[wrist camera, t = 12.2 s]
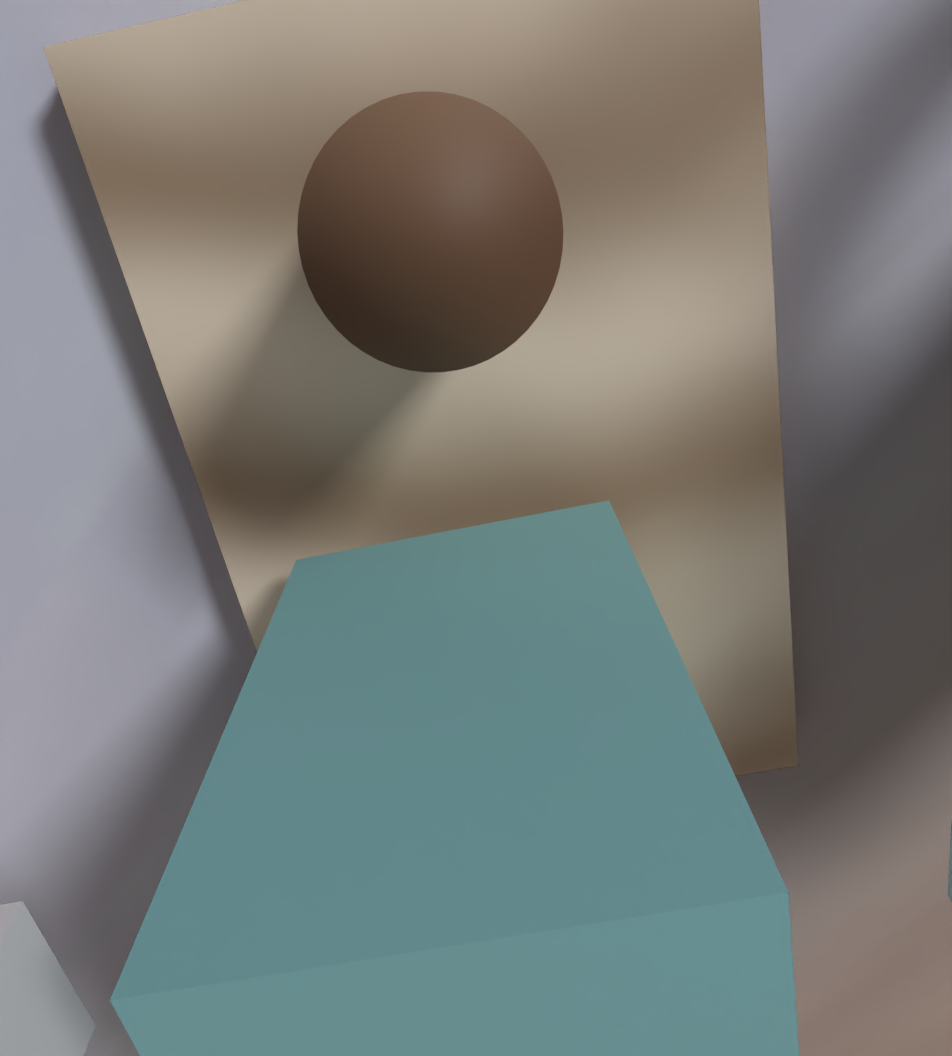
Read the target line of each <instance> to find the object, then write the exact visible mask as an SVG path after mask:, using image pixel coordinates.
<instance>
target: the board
mask: <svg viewBox="0 0 952 1056" xmlns="http://www.w3.org/2000/svg"><path fill="white" fill-rule="evenodd" d="M43 48H44V51H45V54H46V57H47V60H48V62H49V65H50V68H51V71H52V74H53V77H54V79H55V82H56V85H57V88H58V91H59V93H60V96H61V99H62V102H63V105H64V108H65V110H66V113H67V116H68V119H69V122H70V125H71V127H72V130H73V133H74V136H75V139H76V142H77V144H78V147H79V150H80V153H81V156H82V159H83V161H84V164H85V167H86V170H87V173H88V176H89V178H90V181H91V184H92V187H93V190H94V193H95V195H96V198H97V201H98V204H99V207H100V209H101V212H102V215H103V218H104V221H105V224H106V226H107V229H108V232H109V235H110V238H111V241H112V243H113V246H114V249H115V252H116V255H117V258H118V260H119V263H120V266H121V269H122V272H123V275H124V277H125V280H126V283H127V286H128V289H129V292H130V294H131V297H132V300H133V303H134V306H135V308H136V311H137V314H138V317H139V320H140V323H141V325H142V328H143V331H144V334H145V337H146V340H147V342H148V345H149V348H150V351H151V354H152V357H153V359H154V362H155V365H156V368H157V371H158V374H159V376H160V379H161V382H162V385H163V388H164V391H165V393H166V396H167V399H168V402H169V405H170V408H171V410H172V413H173V416H174V419H175V422H176V424H177V427H178V430H179V433H180V436H181V439H182V441H183V444H184V447H185V450H186V453H187V456H188V458H189V461H190V464H191V467H192V470H193V473H194V475H195V478H196V481H197V484H198V487H199V490H200V492H201V495H202V498H203V501H204V504H205V507H206V509H207V512H208V515H209V518H210V521H211V523H212V526H213V529H214V532H215V535H216V538H217V540H218V543H219V546H220V549H221V552H222V555H223V557H224V560H225V563H226V566H227V569H228V572H229V574H230V577H231V580H232V583H233V586H234V589H235V591H236V594H237V597H238V600H239V603H240V606H241V608H242V611H243V614H244V617H245V620H246V623H247V625H248V628H249V631H250V634H251V637H252V639H253V642H254V645H255V648H256V651H257V652H258V649H259V647H260V644H261V642H262V640H263V637H264V635H265V633H266V630H267V628H268V626H269V623H270V621H271V618H272V616H273V614H274V611H275V609H276V607H277V604H278V602H279V600H280V597H281V595H282V593H283V590H284V588H285V585H286V583H287V581H288V578H289V576H290V574H291V571H292V569H293V567H294V564H295V562H296V560H298V559H303V558H308V557H313V556H319V555H324V554H329V553H334V552H340V551H345V550H350V549H355V548H361V547H366V546H371V545H377V544H382V543H387V542H392V541H398V540H403V539H408V538H413V537H419V536H424V535H429V534H434V533H440V532H445V531H450V530H455V529H461V528H466V527H471V526H476V525H482V524H487V523H492V522H498V521H503V520H508V519H513V518H519V517H524V516H529V515H534V514H540V513H545V512H550V511H555V510H561V509H566V508H571V507H576V506H582V505H587V504H592V503H597V502H603V501H608V500H609V501H610V503H611V506H612V508H613V510H614V512H615V514H616V517H617V519H618V521H619V523H620V525H621V527H622V530H623V532H624V534H625V536H626V538H627V541H628V543H629V545H630V547H631V549H632V552H633V554H634V556H635V558H636V560H637V562H638V565H639V567H640V569H641V571H642V573H643V576H644V578H645V580H646V582H647V584H648V587H649V589H650V591H651V593H652V595H653V597H654V600H655V602H656V604H657V606H658V608H659V611H660V613H661V615H662V617H663V619H664V621H665V624H666V626H667V628H668V630H669V632H670V635H671V637H672V639H673V641H674V643H675V646H676V648H677V650H678V652H679V654H680V656H681V659H682V661H683V663H684V665H685V667H686V670H687V672H688V674H689V676H690V678H691V681H692V683H693V685H694V687H695V689H696V691H697V694H698V696H699V698H700V700H701V702H702V705H703V707H704V709H705V711H706V713H707V716H708V718H709V720H710V722H711V724H712V726H713V729H714V731H715V733H716V735H717V737H718V740H719V742H720V744H721V746H722V748H723V750H724V753H725V755H726V757H727V759H728V761H729V764H730V766H731V768H732V770H733V772H734V775H735V776H739V775H745V774H751V773H757V772H763V771H769V770H775V769H781V768H787V767H793V766H799V764H798V745H797V725H796V706H795V687H794V668H793V648H792V629H791V610H790V591H789V571H788V552H787V533H786V513H785V494H784V475H783V456H782V436H781V417H780V398H779V378H778V359H777V340H776V321H775V301H774V282H773V263H772V244H771V224H770V205H769V186H768V166H767V147H766V128H765V109H764V89H763V70H762V51H761V32H760V12H759V0H244V1H239V2H235V3H231V4H226V5H222V6H218V7H214V8H209V9H205V10H201V11H196V12H192V13H188V14H183V15H179V16H175V17H170V18H166V19H162V20H157V21H153V22H149V23H145V24H140V25H136V26H132V27H127V28H123V29H119V30H114V31H110V32H106V33H101V34H97V35H93V36H88V37H84V38H80V39H75V40H71V41H67V42H63V43H58V44H54V45H50V46H45V47H43Z"/></svg>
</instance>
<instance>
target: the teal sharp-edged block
mask: <svg viewBox="0 0 952 1056" xmlns="http://www.w3.org/2000/svg"><path fill="white" fill-rule="evenodd" d="M110 1002H111V1004H112V1006H113V1008H114V1009H115V1011H116V1013H117V1015H118V1017H119V1019H120V1020H121V1022H122V1024H123V1026H124V1028H125V1030H126V1031H127V1033H128V1035H129V1037H130V1039H131V1041H132V1042H133V1044H134V1046H135V1048H136V1050H137V1052H138V1053H139V1055H140V1056H799V1046H798V1031H797V1016H796V1000H795V985H794V969H793V954H792V938H791V923H790V907H789V893H788V890H787V888H786V886H785V884H784V882H783V879H782V877H781V875H780V873H779V871H778V869H777V866H776V864H775V862H774V860H773V858H772V855H771V853H770V851H769V849H768V847H767V844H766V842H765V840H764V838H763V836H762V834H761V831H760V829H759V827H758V825H757V823H756V820H755V818H754V816H753V814H752V812H751V810H750V807H749V805H748V803H747V801H746V799H745V796H744V794H743V792H742V790H741V788H740V785H739V783H738V781H737V779H736V777H735V775H734V772H733V770H732V768H731V766H730V764H729V761H728V759H727V757H726V755H725V753H724V750H723V748H722V746H721V744H720V742H719V740H718V737H717V735H716V733H715V731H714V729H713V726H712V724H711V722H710V720H709V718H708V716H707V713H706V711H705V709H704V707H703V705H702V702H701V700H700V698H699V696H698V694H697V691H696V689H695V687H694V685H693V683H692V681H691V678H690V676H689V674H688V672H687V670H686V667H685V665H684V663H683V661H682V659H681V656H680V654H679V652H678V650H677V648H676V646H675V643H674V641H673V639H672V637H671V635H670V632H669V630H668V628H667V626H666V624H665V621H664V619H663V617H662V615H661V613H660V611H659V608H658V606H657V604H656V602H655V600H654V597H653V595H652V593H651V591H650V589H649V587H648V584H647V582H646V580H645V578H644V576H643V573H642V571H641V569H640V567H639V565H638V562H637V560H636V558H635V556H634V554H633V552H632V549H631V547H630V545H629V543H628V541H627V538H626V536H625V534H624V532H623V530H622V527H621V525H620V523H619V521H618V519H617V517H616V514H615V512H614V510H613V508H612V506H611V503H610V501H609V500H608V501H603V502H597V503H592V504H587V505H582V506H576V507H571V508H566V509H561V510H555V511H550V512H545V513H540V514H534V515H529V516H524V517H519V518H513V519H508V520H503V521H498V522H492V523H487V524H482V525H476V526H471V527H466V528H461V529H455V530H450V531H445V532H440V533H434V534H429V535H424V536H419V537H413V538H408V539H403V540H398V541H392V542H387V543H382V544H377V545H371V546H366V547H361V548H355V549H350V550H345V551H340V552H334V553H329V554H324V555H319V556H313V557H308V558H303V559H298V560H296V562H295V564H294V567H293V569H292V571H291V574H290V576H289V578H288V581H287V583H286V585H285V588H284V590H283V593H282V595H281V597H280V600H279V602H278V604H277V607H276V609H275V611H274V614H273V616H272V618H271V621H270V623H269V626H268V628H267V630H266V633H265V635H264V637H263V640H262V642H261V644H260V647H259V649H258V652H257V654H256V656H255V659H254V661H253V663H252V666H251V668H250V670H249V673H248V675H247V678H246V680H245V682H244V685H243V687H242V689H241V692H240V694H239V696H238V699H237V701H236V703H235V706H234V708H233V711H232V713H231V715H230V718H229V720H228V722H227V725H226V727H225V729H224V732H223V734H222V737H221V739H220V741H219V744H218V746H217V748H216V751H215V753H214V755H213V758H212V760H211V762H210V765H209V767H208V770H207V772H206V774H205V777H204V779H203V781H202V784H201V786H200V788H199V791H198V793H197V796H196V798H195V800H194V803H193V805H192V807H191V810H190V812H189V814H188V817H187V819H186V822H185V824H184V826H183V829H182V831H181V833H180V836H179V838H178V840H177V843H176V845H175V847H174V850H173V852H172V855H171V857H170V859H169V862H168V864H167V866H166V869H165V871H164V873H163V876H162V878H161V881H160V883H159V885H158V888H157V890H156V892H155V895H154V897H153V899H152V902H151V904H150V906H149V909H148V911H147V914H146V916H145V918H144V921H143V923H142V925H141V928H140V930H139V932H138V935H137V937H136V940H135V942H134V944H133V947H132V949H131V951H130V954H129V956H128V958H127V961H126V963H125V966H124V968H123V970H122V973H121V975H120V977H119V980H118V982H117V984H116V987H115V989H114V991H113V994H112V996H111V999H110Z"/></svg>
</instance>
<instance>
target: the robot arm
mask: <svg viewBox="0 0 952 1056" xmlns="http://www.w3.org/2000/svg"><path fill="white" fill-rule="evenodd" d="M948 897H949V898H950V900H951V901H952V824H951V842H950V861H949V879H948ZM95 1027H96V1025H95V1024H94V1022H93V1020H92V1019H91V1017H90V1015H89V1013H88V1012H87V1010H86V1008H85V1007H84V1005H83V1003H82V1002H81V1000H80V998H79V996H78V995H77V993H76V991H75V990H74V988H73V986H72V985H71V983H70V981H69V979H68V978H67V976H66V974H65V973H64V971H63V969H62V967H61V966H60V964H59V962H58V961H57V959H56V957H55V956H54V954H53V952H52V950H51V949H50V947H49V945H48V944H47V942H46V940H45V939H44V937H43V935H42V933H41V932H40V930H39V928H38V927H37V925H36V923H35V921H34V920H33V918H32V916H31V915H30V913H29V911H28V910H27V908H26V906H25V904H24V903H23V901H20V902H14V903H8V904H2V905H0V1056H84V1053H85V1051H86V1048H87V1046H88V1044H89V1041H90V1039H91V1036H92V1034H93V1032H94V1029H95Z"/></svg>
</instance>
